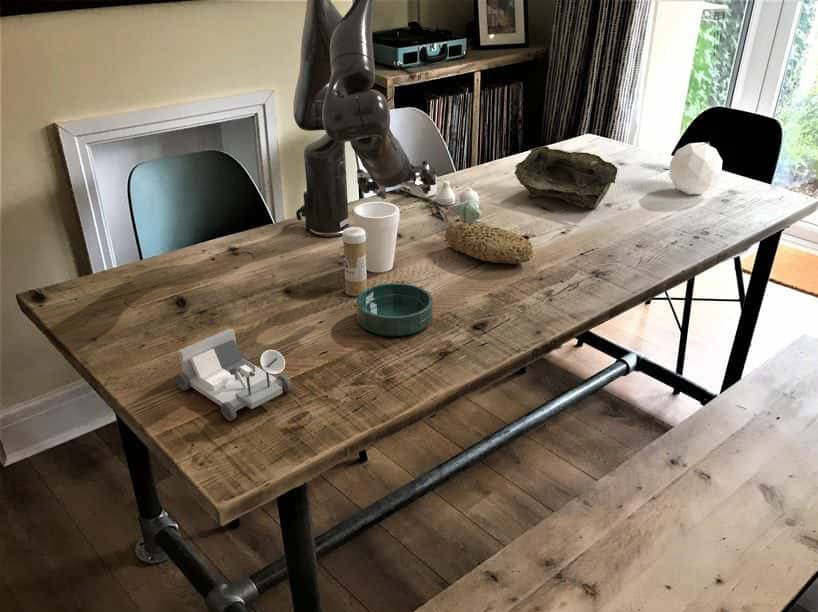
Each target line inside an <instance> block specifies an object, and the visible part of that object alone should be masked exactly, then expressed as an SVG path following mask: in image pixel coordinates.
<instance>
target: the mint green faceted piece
mask: <svg viewBox="0 0 818 612" xmlns="http://www.w3.org/2000/svg"><path fill="white" fill-rule="evenodd" d="M478 206H479V205H478ZM478 206H477V204H476V203H475V202H474V201H472V200H467V201H465V202H463V203H460V204H459V203H456V204H453V206H452V208H453V209H454V210H455V211H456V213H457V214H458V216H459V218H460V221H461V223H469V224H471V223H474V224H476V221H477V220H478V219H479V218H480V217H481V216H482V215H483V211H482V209H480V207H479V208H478Z"/></svg>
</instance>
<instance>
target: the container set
mask: <svg viewBox="0 0 818 612" xmlns="http://www.w3.org/2000/svg"><path fill="white" fill-rule="evenodd" d="M410 181H412V179H411V180H410ZM419 181H421V177H419ZM437 182H438V176H437V175H436V185H430V186H431V190H430V191H428V194H424V192H423V190H422V189H421V187H419V186H416V187H411V186H409V187H410V189H409V190H410V194H411V195H413V196H416V197H419V198H424V199H427V198H429V197H431V196H433V195H435V198H436V199H435V202H436V204H438V205H442V206H451V205H455V203H456V195H455V193H454V191H453V190H452V188H451V187H450V181H449V180H443V181H442V186H441V188H440V190H438V191H437V189H438V187H437V186H438V183H437ZM478 194H479V193H477V192H476V191H475V190H474V189H472V188H471V187H467V189H464V190H463V191H462V192H460V194H459V197H458V201H459V203H458V204H460V203H463V202H465V201H467V200H472V201H474V202H475V203H476V204H477V206H478V208H479V209H480V206H479V202H480V201H479V200H480V199H479V197H480V196H479V195H478Z"/></svg>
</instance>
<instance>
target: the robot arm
mask: <svg viewBox="0 0 818 612" xmlns="http://www.w3.org/2000/svg"><path fill="white" fill-rule="evenodd" d="M374 15H375V0H354V1H353V3H352V5H351V6H350V8H349V9H348V10H347V12H346V13H345V14H344V15H343V16H342V14H341V13H340V11H339V10H338V9H337V7H336V6H335V5H334V3H333V1H332V0H306V6H305V16H304V21H303V29H302V35H301V45H300V62H299V63H300V64H299V72H298V78H297V82H296V86H295V91H294V95H293V104H292V105H293V106H292V108H293V111H292V112H293V118H294V122H295V123H296V125H297V127H299V129H301V130H302V131H305V132H306V131H307V132H316V131H325V134H324V135H322V137H320V138H318V139H317V140H314V141H312V142H310V143H308V144H307V145H306V146H305V147H304V149H303V157H304V158H303V159H304V160H303V161H304V171H305V173H304V174H305V183H306V184H305V185H306V191H304V192H303V205H302V206H300V207H299V208H298V209H297V210H296V212H295V217H296V218H297V221H301V220H302V217H303V218H304V217H305V218H304V219H305V230H306V232H308V233H310V234H312V235H314V236H317V237H320V238H321V237H322V238H334V237H339V236H342V231H343V230H344V229H346V228H350V217H349V202H348V201H349V200H348V183H347V181H348V180H347V179H348V178H347V162H346V161H347V160H346V159H347V158H346V143H348V142H349V144H350V146H351V148H352V150H353V152H354V153H355V154H356V155H357V157H358V158H359V160H360V163H361V165H362V167H363V168H364V169H365V170H364V169H361V168H358V169H357V170H356V183H357V184H358V186H359V188H360V189H361V192H362V193H363V194H370V192H372V193H373V194H375V195H376V196H377V197H378V198H381V200H386V199H387V188H394V187H397V186H408V187H410V186H411V187H416V186H419V187H421V189H422V190H423V192H424V194H428V191H430V190H431V186H430V185H436V183H437V182H436V176H437V175H436V170H435V169H434V167H433V166H432V164H431V163H430V161H428V160H423V161H422V162H421V164H420V165H417V166H416V165H415V164H413V163H411V162H410V160H409V157H408V155H407V154H406V152H405V150H404V148H403V147H402V145H401V143H400V141H399V140H398V139H397V137H396V136H395V135H394V134H393V132H392V129H391V128H390V127H391V111H390V106H389V105H390V104H389V102H388V100H387V98H386V96H385V95H384V94H383V93H381V92H380V91H378V90H376V89H372V88H373V86H374V84H375V83H376V67H375V56H374V55H375V54H374V45H373V44H374V43H373V42H374V41H373V27H374V17H375V16H374ZM419 177H421V181H419ZM411 179H412V181H410V180H411ZM370 180H371V181H370Z"/></svg>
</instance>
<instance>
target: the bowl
mask: <svg viewBox="0 0 818 612" xmlns="http://www.w3.org/2000/svg"><path fill="white" fill-rule="evenodd" d="M433 303H434V298H433V296H432V295H431V293H430V292H429V291H428V290H426V289H424V288H423V287H420V286H417V285H415V284H410V283H402V282H389V283H380V284H376V285H373V286H370V287H367V289H366V290H364V291H363V292H362V293H361V294H360V295H358V296H357V298H356V318H357V321H358V324H359V325H360V326H361V327H362V328H363V329H365V330H367V331H369V332H370V333H371V332H372V333H373V334H376V335H379V336H385V337H405V336H409V335H413V334H416V333H418V332H420V331H422V330H423V329H425V328H427V327H429V325H430V324H431V323H432V321H433V315H434V314H433V308H434V306H433V305H434V304H433Z"/></svg>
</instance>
